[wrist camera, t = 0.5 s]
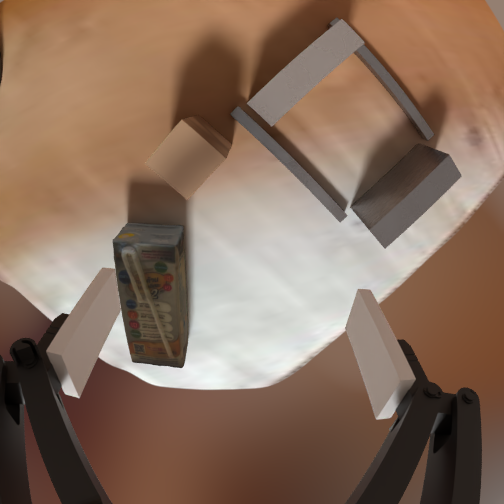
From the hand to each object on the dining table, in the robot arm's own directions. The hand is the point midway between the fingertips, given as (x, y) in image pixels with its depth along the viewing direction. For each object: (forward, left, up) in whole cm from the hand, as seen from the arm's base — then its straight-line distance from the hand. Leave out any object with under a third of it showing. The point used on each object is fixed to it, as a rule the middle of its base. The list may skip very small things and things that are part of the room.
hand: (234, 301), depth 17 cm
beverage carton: (+1, -18, -22) cm, 28 cm away
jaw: (-5, +13, -22) cm, 26 cm away
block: (-7, 0, -22) cm, 23 cm away
